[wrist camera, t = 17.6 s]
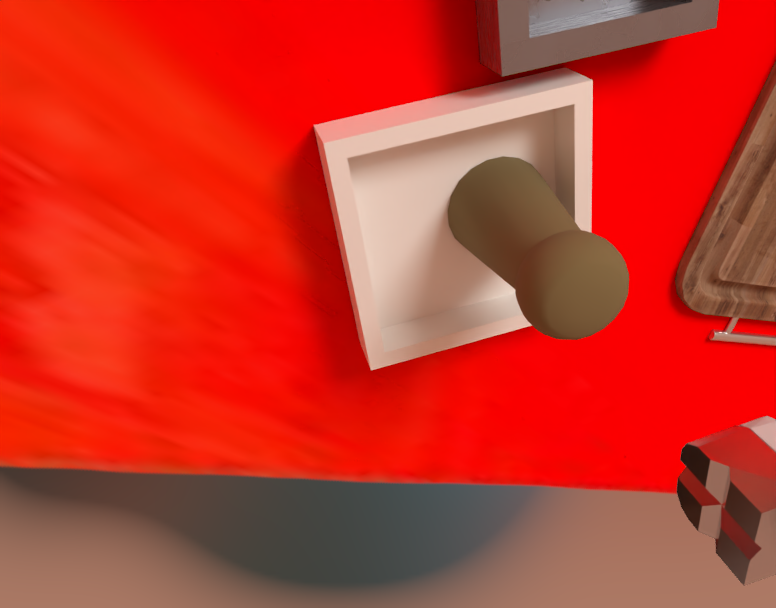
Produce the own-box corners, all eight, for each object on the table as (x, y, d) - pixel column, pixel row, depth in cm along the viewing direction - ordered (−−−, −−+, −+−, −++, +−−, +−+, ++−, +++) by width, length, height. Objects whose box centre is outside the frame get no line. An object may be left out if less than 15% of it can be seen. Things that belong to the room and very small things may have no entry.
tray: (360, 342, 43) (370, 370, 41) (313, 125, 36) (323, 143, 33) (567, 285, 45) (590, 309, 43) (565, 67, 38) (592, 80, 35)
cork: (537, 140, 39) (646, 223, 30) (553, 231, 42) (655, 330, 33) (436, 179, 38) (515, 275, 29) (460, 268, 42) (538, 378, 33)
